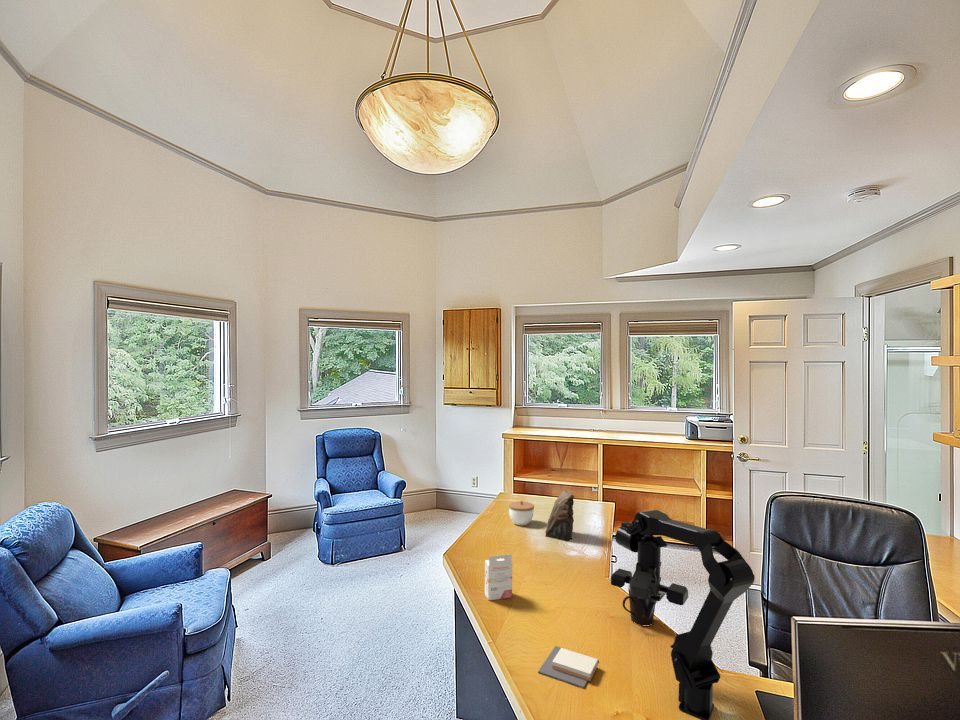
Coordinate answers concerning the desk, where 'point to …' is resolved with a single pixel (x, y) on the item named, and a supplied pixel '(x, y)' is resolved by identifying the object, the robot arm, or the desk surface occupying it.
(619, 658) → the desk surface
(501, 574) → the ink cartridge box
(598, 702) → the desk surface
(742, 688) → the desk surface
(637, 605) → the coffee mug
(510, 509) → the lidded bowl
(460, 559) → the desk surface
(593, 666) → the tile
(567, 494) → the brown rock
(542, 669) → the gray pad
